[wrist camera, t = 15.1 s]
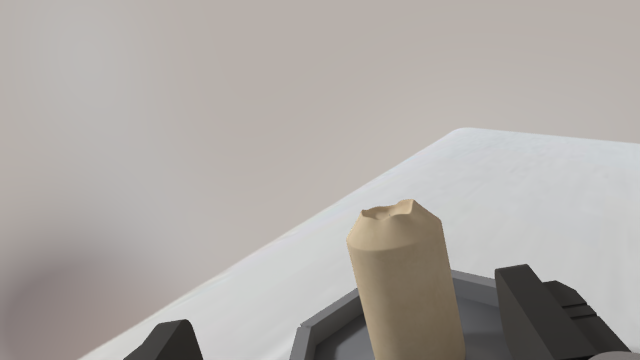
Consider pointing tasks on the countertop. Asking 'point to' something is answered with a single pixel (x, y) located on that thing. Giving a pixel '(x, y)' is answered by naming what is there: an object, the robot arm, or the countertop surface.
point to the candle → (406, 284)
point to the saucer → (354, 341)
